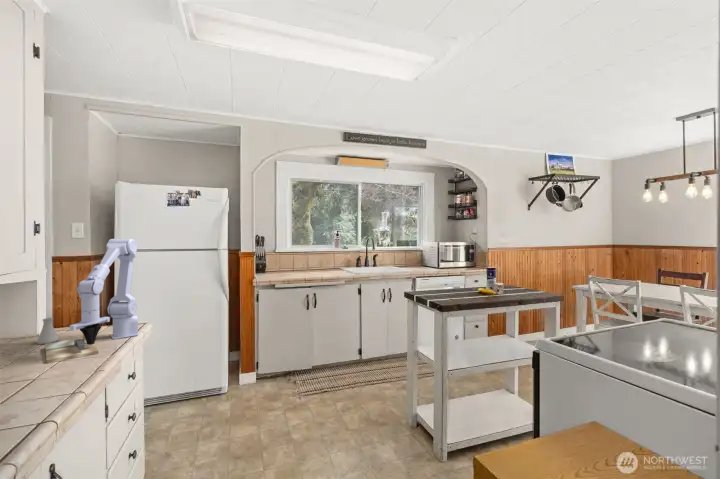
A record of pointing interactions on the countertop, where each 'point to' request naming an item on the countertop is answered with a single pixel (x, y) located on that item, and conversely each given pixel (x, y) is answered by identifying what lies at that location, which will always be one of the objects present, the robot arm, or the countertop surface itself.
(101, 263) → the robot arm
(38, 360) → the countertop surface
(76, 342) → the latch bar
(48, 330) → the flask
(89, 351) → the lock board
